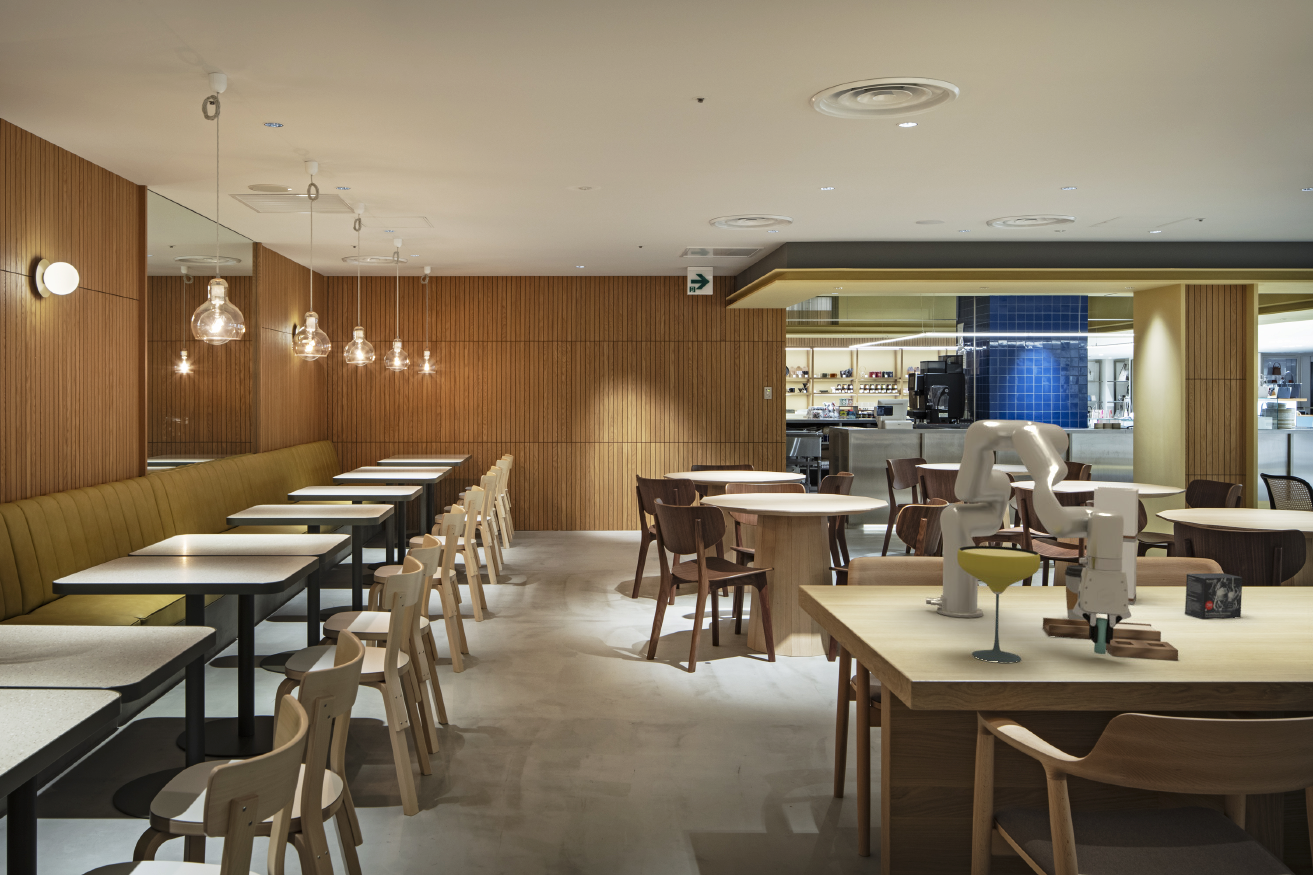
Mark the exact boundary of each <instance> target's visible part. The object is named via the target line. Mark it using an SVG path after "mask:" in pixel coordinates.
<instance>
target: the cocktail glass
mask: <svg viewBox="0 0 1313 875" xmlns="http://www.w3.org/2000/svg"><path fill="white" fill-rule="evenodd" d="M957 559H958V564H959V566H960V567H961V568H962V569H963V570H964V571H966V572H967V573H969V574H970V575H972V576H974V577H975V578H977V579H978V581H981V582H982V583H984V584H985V585H986V586H987V587H988V588H989V589H990V591H991V592H992V593H993V594H995V622H994V623H995V626H994V627H995V628H994V630H995V631H994V643H993V647H992V649H982V650H980V649H979V650H976V651H973V652H971V655H973V656H974V658H975V657H977V658H979V659H983V660H987V661H998V662H1016V661H1019V662H1021V661H1022V657H1021V656H1019V655H1018V654H1015V653H1012V652H1008V651H1004V650H1001V647H1000V640H999V620H1000V619H999V610H1000V608H999V605H1000V604H999V603H1000V595H1002V594H1003V593H1004V592H1005V591H1006V590H1007V588H1008V587H1010V586H1011V585H1014V584H1016V583H1019V582H1021V581H1023V580H1026V579H1028V578H1030V577H1032V576H1033V575H1035V574H1036V573H1037V572H1038V571H1039V569H1040V567H1041V555H1040V553H1039V552H1038V551H1035V550H1031V549H1026V548H1019V547H1014V546H1013V547H1011V546H1001V545H999V546H998V545H975V546H966V547H961V548H959V550H958V555H957ZM973 656H972V657H973ZM977 658H976V659H977ZM979 659H978V660H979ZM983 660H982V661H983ZM1020 660H1021V661H1020ZM987 661H986V662H987ZM1016 663H1017V662H1016Z"/></svg>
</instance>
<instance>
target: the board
mask: <svg viewBox="0 0 1313 875" xmlns="http://www.w3.org/2000/svg"><path fill="white" fill-rule="evenodd" d="M1117 624H1129V625H1146V626H1151V627H1152V624H1151V623H1138V622H1124V621H1123V622H1122V621H1120V622H1119V623H1117ZM1043 629H1044V630H1043ZM1042 630H1043V632H1045V633H1046V634H1047V636H1048V637H1049V636H1055V637H1054V638H1064V637H1070V638H1069V639H1083V640H1091V638H1089V623H1088V621H1087V620H1075V619H1069V618H1053V617H1042ZM1113 639H1127V640H1143V641H1159V642H1162V631H1161V630H1156V631H1152V630H1136V629H1120V628H1113Z"/></svg>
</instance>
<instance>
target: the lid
mask: <svg viewBox="0 0 1313 875" xmlns="http://www.w3.org/2000/svg"><path fill="white" fill-rule="evenodd" d="M1096 618H1103V617H1102V616H1101V614H1096ZM1113 628H1120V629H1136V630H1152V631H1157V629H1155V628H1154V627H1153V626H1152V625H1151V626H1146V625H1129V624H1116V625H1115V627H1113Z"/></svg>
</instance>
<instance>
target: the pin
mask: <svg viewBox="0 0 1313 875" xmlns="http://www.w3.org/2000/svg"><path fill="white" fill-rule="evenodd" d="M1096 623H1097V626H1098V642H1097V643H1094V646H1093V648H1094V650H1093V652H1094V653H1095V654H1099V655H1106V653H1107V652H1106V651H1107V650H1106V629H1107V618H1105V617H1102V618H1096Z"/></svg>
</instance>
